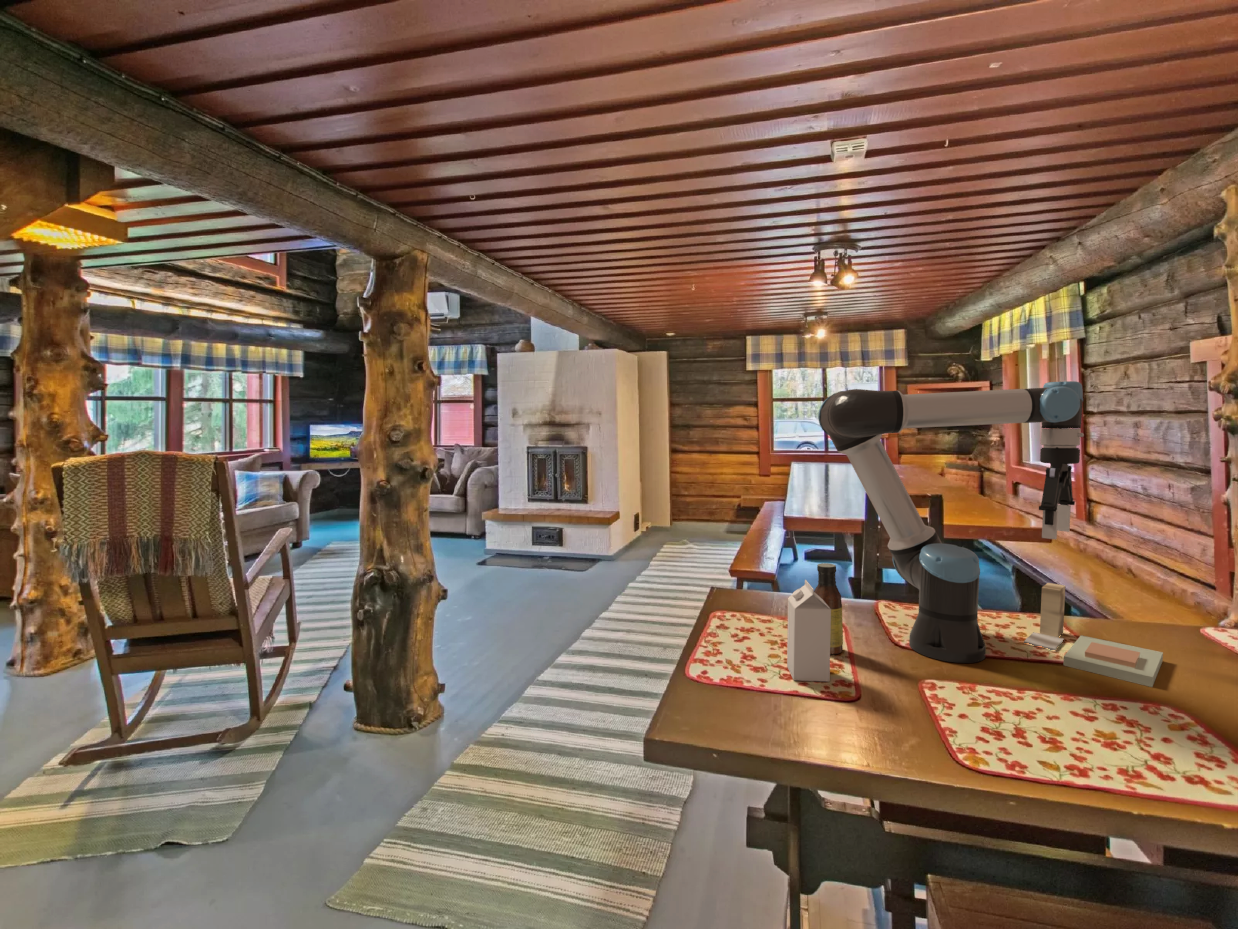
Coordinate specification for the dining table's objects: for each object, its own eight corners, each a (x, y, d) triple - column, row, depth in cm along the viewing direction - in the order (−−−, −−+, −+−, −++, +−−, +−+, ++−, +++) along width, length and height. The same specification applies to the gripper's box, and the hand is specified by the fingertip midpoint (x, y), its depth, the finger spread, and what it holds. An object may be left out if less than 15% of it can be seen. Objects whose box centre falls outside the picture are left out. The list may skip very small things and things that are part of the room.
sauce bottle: (845, 648, 133) (847, 563, 131) (839, 658, 127) (841, 569, 126) (816, 643, 136) (817, 560, 135) (809, 651, 131) (810, 566, 129)
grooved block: (1080, 643, 135) (1081, 635, 135) (1162, 661, 124) (1163, 652, 124) (1063, 665, 123) (1063, 656, 123) (1152, 687, 112) (1152, 677, 112)
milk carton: (820, 667, 122) (822, 580, 121) (829, 682, 115) (831, 589, 114) (786, 666, 123) (788, 579, 122) (793, 681, 116) (794, 588, 115)
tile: (1084, 651, 122) (1084, 657, 122) (1135, 663, 116) (1135, 668, 116) (1091, 641, 127) (1091, 647, 127) (1140, 652, 121) (1139, 657, 122)
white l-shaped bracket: (1039, 628, 145) (1041, 581, 144) (1069, 634, 140) (1071, 586, 139) (1023, 644, 135) (1025, 593, 134) (1055, 651, 130) (1057, 599, 129)
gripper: (1068, 448, 126) (1063, 544, 128) (1090, 445, 143) (1086, 530, 144) (1027, 448, 132) (1023, 539, 133) (1053, 444, 148) (1049, 526, 150)
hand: (1055, 534), depth 139 cm, fingers open, 13 cm apart
